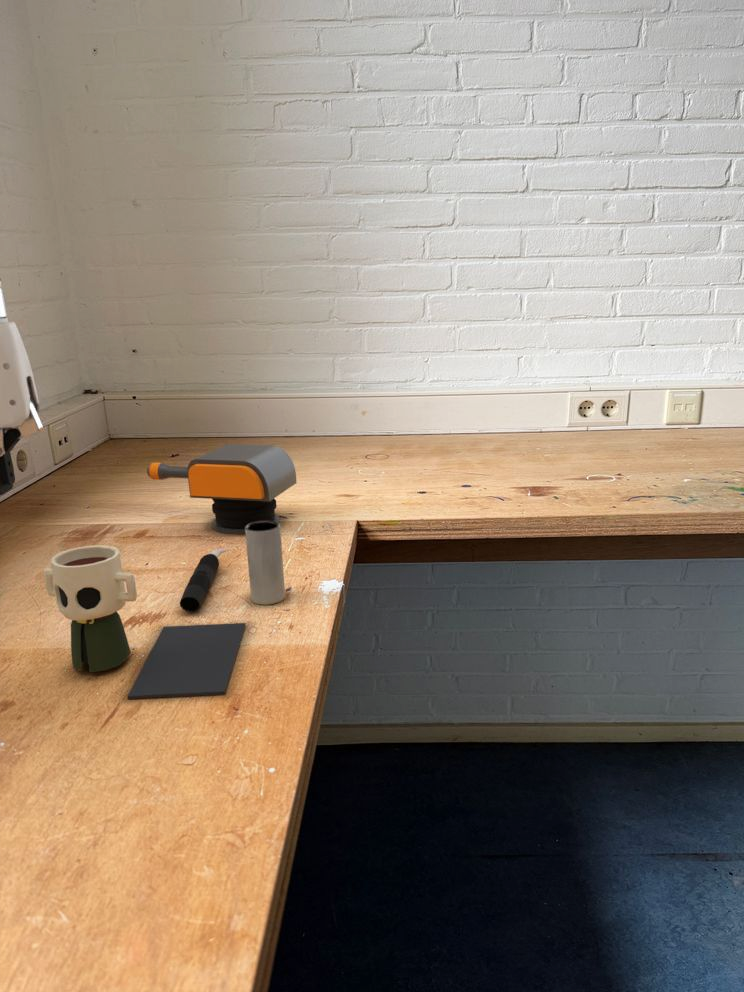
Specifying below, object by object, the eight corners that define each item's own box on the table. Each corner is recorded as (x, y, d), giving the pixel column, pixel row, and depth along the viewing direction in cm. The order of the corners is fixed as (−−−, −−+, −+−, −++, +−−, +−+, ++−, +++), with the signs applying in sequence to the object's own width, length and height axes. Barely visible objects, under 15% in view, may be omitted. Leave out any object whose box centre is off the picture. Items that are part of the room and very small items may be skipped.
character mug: (40, 674, 88) (19, 564, 84) (77, 646, 95) (60, 542, 90) (129, 682, 86) (112, 569, 82) (162, 652, 92) (148, 547, 88)
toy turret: (176, 506, 150) (168, 440, 146) (301, 513, 144) (296, 444, 140) (133, 530, 137) (123, 458, 133) (269, 539, 131) (262, 463, 127)
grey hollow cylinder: (245, 603, 106) (238, 529, 102) (260, 590, 110) (254, 519, 107) (276, 606, 104) (270, 532, 101) (291, 593, 109) (285, 521, 105)
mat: (127, 699, 82) (127, 696, 82) (163, 629, 98) (163, 626, 98) (225, 694, 83) (224, 691, 83) (245, 625, 99) (245, 622, 99)
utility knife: (207, 559, 122) (205, 540, 121) (233, 557, 123) (231, 539, 122) (178, 616, 102) (176, 595, 101) (210, 615, 102) (208, 593, 101)
